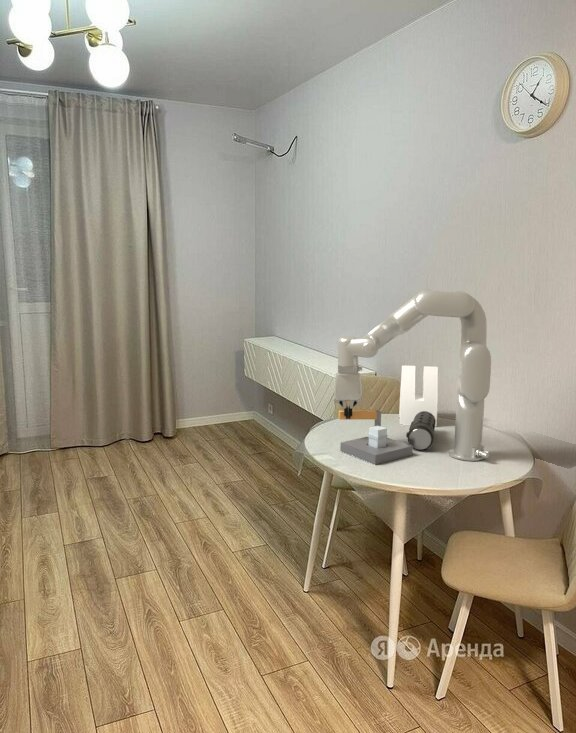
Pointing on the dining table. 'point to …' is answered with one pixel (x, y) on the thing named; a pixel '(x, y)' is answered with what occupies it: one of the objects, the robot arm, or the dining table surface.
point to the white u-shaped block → (418, 394)
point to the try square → (363, 416)
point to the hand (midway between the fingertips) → (348, 418)
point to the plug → (377, 436)
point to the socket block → (376, 450)
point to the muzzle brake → (421, 431)
